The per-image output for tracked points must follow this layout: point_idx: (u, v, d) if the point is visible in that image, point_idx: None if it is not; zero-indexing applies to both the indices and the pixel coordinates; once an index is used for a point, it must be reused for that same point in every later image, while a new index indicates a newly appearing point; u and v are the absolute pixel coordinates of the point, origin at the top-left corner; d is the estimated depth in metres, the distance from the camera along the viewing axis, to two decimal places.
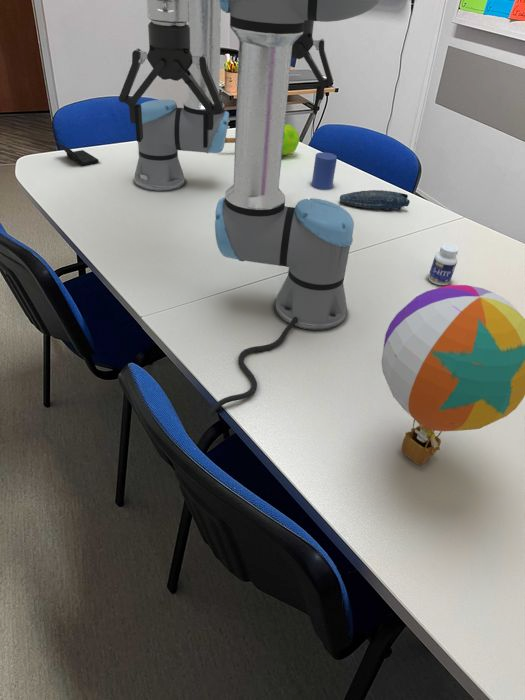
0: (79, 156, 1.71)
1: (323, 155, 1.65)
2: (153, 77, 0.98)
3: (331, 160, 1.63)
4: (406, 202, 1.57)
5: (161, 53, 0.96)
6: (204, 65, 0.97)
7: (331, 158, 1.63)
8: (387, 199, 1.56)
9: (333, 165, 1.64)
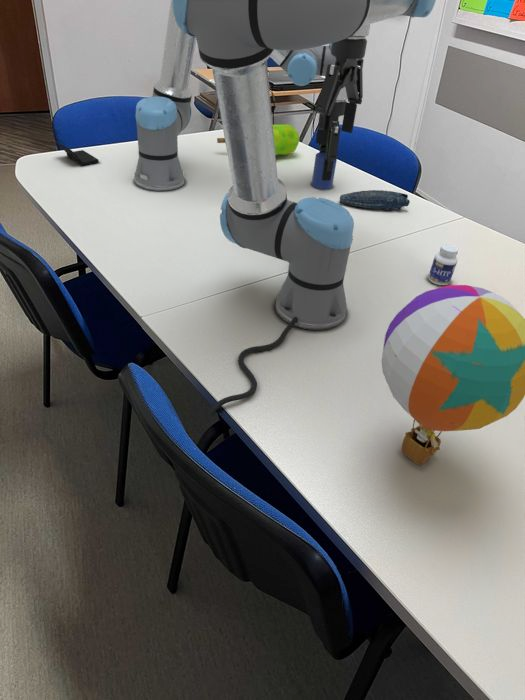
0: (79, 156, 1.71)
1: (323, 155, 1.65)
2: None
3: None
4: (406, 202, 1.57)
5: None
6: None
7: None
8: (387, 199, 1.56)
9: (333, 165, 1.64)
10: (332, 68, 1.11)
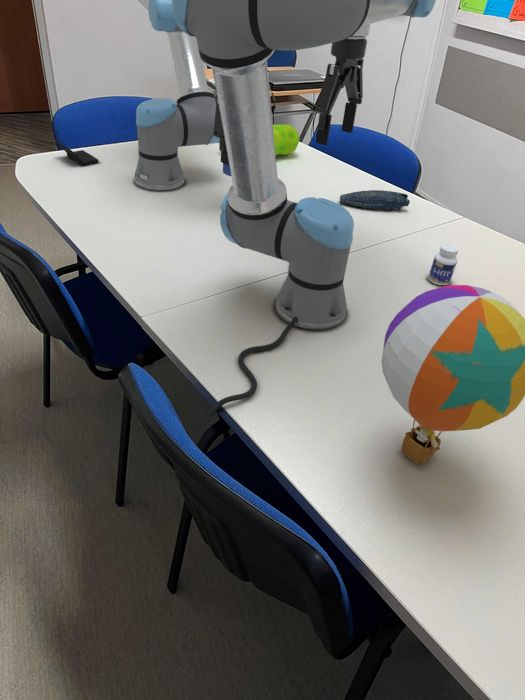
0: (79, 156, 1.71)
1: None
2: None
3: None
4: (406, 202, 1.57)
5: None
6: None
7: None
8: (387, 199, 1.56)
9: None
10: (332, 68, 1.11)
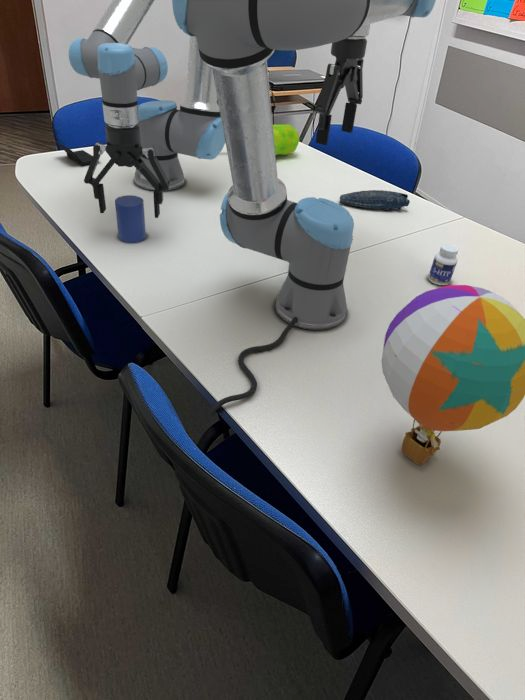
0: (79, 156, 1.71)
1: (129, 199, 1.28)
2: (111, 165, 1.20)
3: None
4: (406, 202, 1.57)
5: (116, 147, 1.18)
6: (152, 156, 1.19)
7: (118, 202, 1.26)
8: (387, 199, 1.56)
9: (116, 210, 1.27)
10: (332, 68, 1.11)
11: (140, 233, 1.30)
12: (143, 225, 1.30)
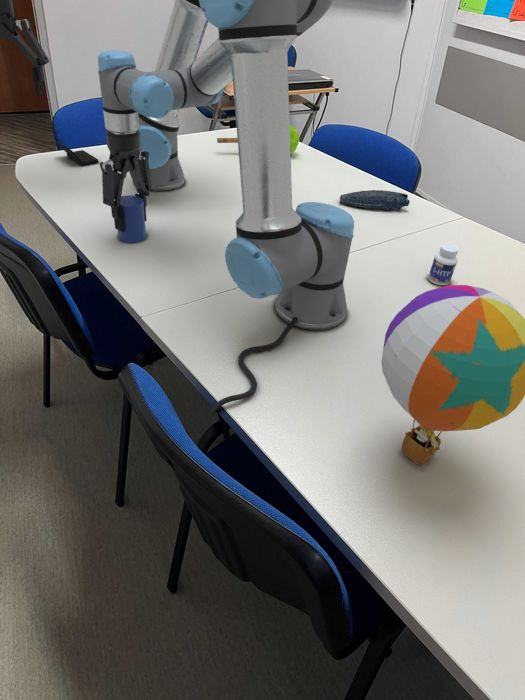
0: (79, 156, 1.71)
1: (129, 199, 1.28)
2: None
3: None
4: (406, 202, 1.57)
5: None
6: (25, 27, 1.23)
7: None
8: (387, 199, 1.56)
9: None
10: (104, 167, 1.17)
11: (140, 233, 1.30)
12: (143, 225, 1.30)
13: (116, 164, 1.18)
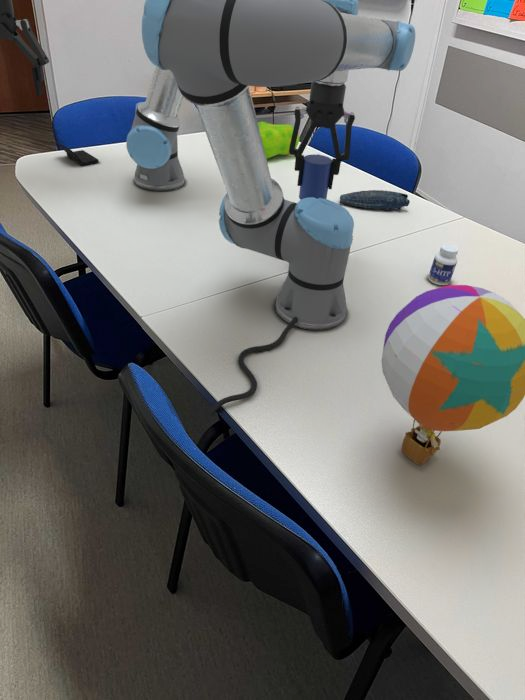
0: (79, 156, 1.71)
1: (321, 158, 1.23)
2: None
3: None
4: (406, 202, 1.57)
5: None
6: (25, 27, 1.23)
7: (308, 156, 1.23)
8: (387, 199, 1.56)
9: None
10: None
11: (311, 195, 1.24)
12: (318, 189, 1.24)
13: (308, 113, 1.16)
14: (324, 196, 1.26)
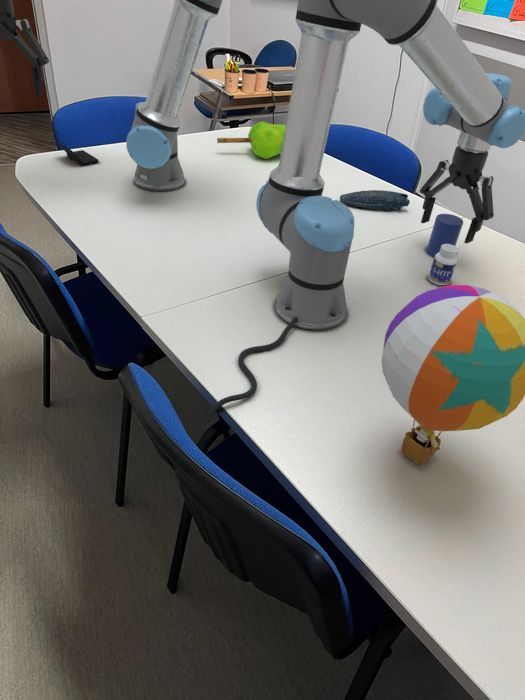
0: (79, 156, 1.71)
1: (454, 220, 1.33)
2: None
3: None
4: (406, 202, 1.57)
5: None
6: (25, 27, 1.23)
7: (445, 215, 1.35)
8: (387, 199, 1.56)
9: None
10: None
11: (432, 248, 1.36)
12: (439, 244, 1.34)
13: (449, 171, 1.28)
14: None
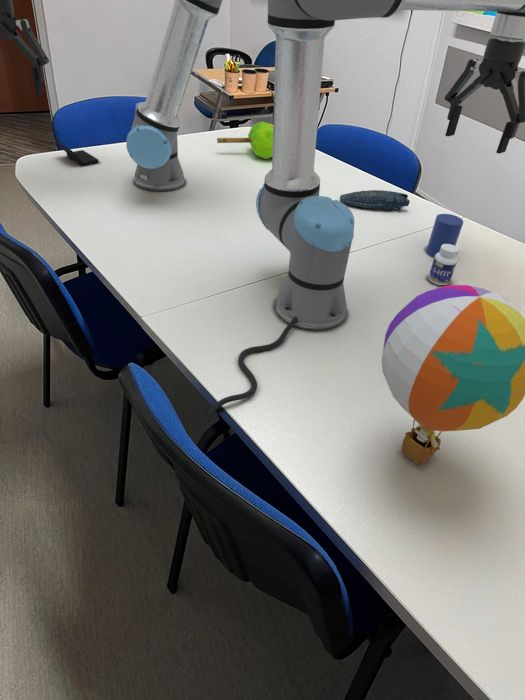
0: (79, 156, 1.71)
1: (454, 220, 1.33)
2: None
3: None
4: (406, 202, 1.57)
5: None
6: (25, 27, 1.23)
7: (445, 215, 1.35)
8: (387, 199, 1.56)
9: None
10: None
11: (432, 248, 1.36)
12: (439, 244, 1.34)
13: (479, 70, 1.14)
14: None
